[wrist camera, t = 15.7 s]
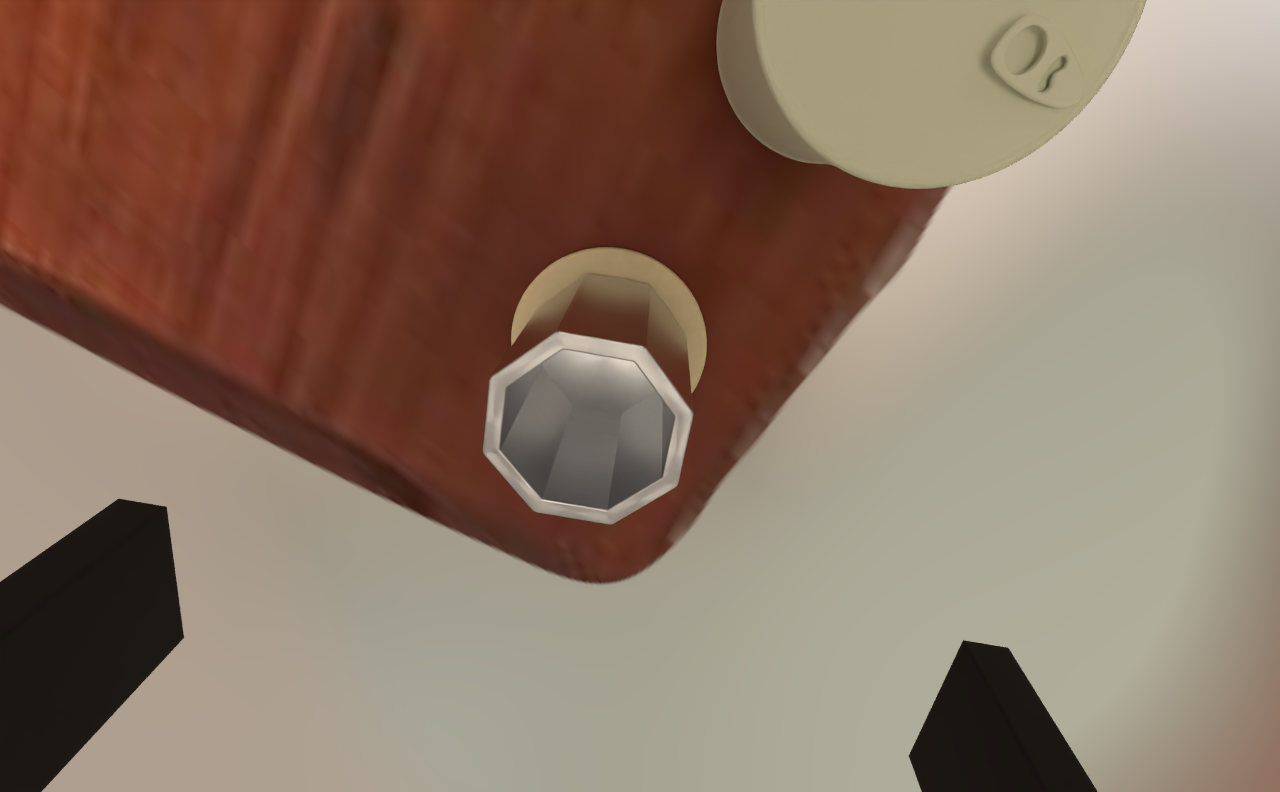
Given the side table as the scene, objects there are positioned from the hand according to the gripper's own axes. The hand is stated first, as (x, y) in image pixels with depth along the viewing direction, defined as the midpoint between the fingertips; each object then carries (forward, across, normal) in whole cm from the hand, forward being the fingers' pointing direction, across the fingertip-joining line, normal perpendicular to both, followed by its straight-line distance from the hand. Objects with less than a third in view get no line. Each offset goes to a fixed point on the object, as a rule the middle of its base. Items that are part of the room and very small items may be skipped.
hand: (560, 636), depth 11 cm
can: (+21, +6, +12) cm, 25 cm away
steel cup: (+20, -1, -2) cm, 21 cm away
